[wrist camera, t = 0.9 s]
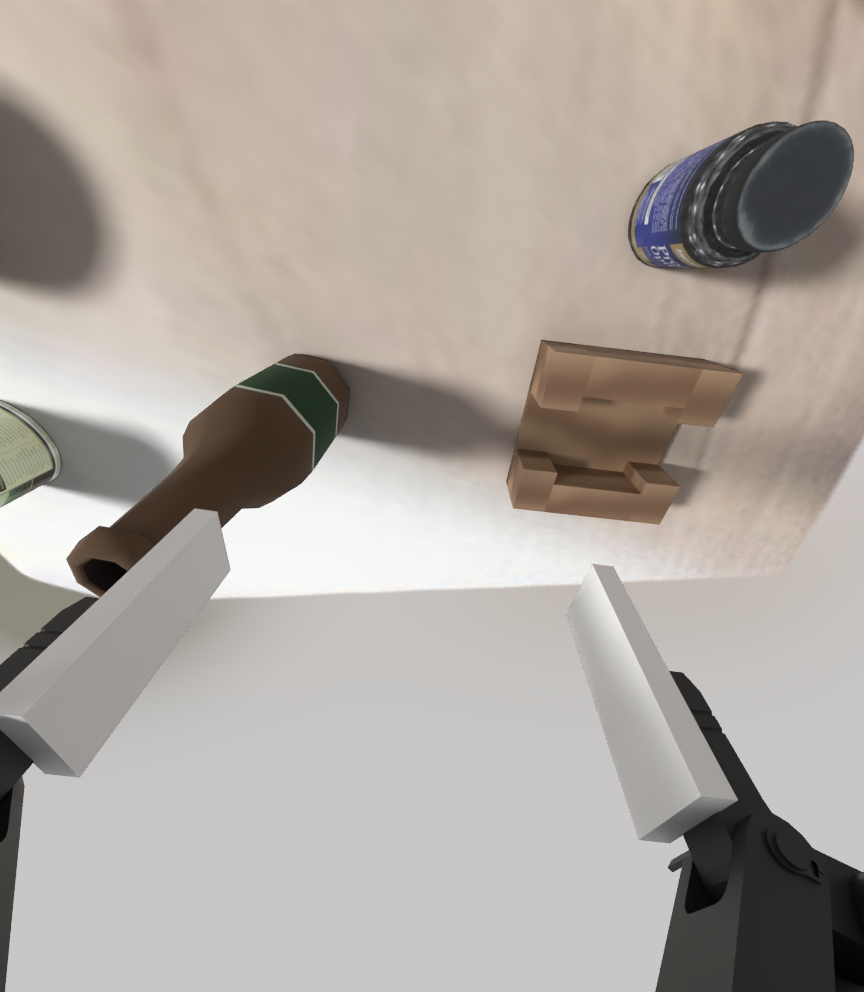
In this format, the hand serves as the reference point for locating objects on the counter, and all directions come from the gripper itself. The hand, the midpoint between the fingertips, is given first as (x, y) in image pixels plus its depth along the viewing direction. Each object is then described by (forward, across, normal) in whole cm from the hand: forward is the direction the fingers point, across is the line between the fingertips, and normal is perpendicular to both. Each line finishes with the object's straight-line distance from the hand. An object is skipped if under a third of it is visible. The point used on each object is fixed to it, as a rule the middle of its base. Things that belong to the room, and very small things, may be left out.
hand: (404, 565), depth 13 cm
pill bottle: (+24, +15, +14) cm, 32 cm away
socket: (+24, +16, -2) cm, 29 cm away
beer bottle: (+24, -11, -3) cm, 27 cm away
